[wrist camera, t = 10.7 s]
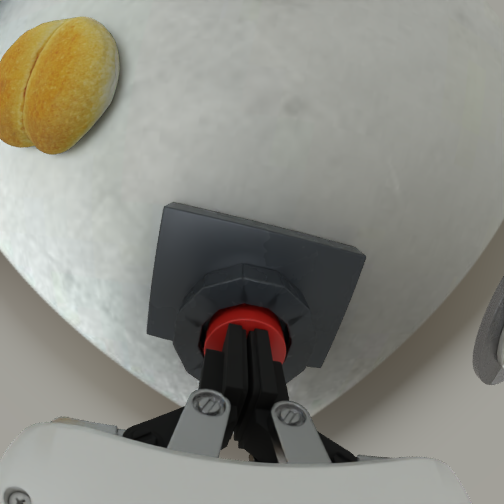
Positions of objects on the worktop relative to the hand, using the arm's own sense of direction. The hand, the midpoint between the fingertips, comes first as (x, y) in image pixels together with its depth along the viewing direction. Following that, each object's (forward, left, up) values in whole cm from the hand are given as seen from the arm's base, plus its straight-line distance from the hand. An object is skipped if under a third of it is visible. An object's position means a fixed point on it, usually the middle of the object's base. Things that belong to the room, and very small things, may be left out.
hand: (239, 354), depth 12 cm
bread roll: (+14, -11, -4) cm, 18 cm away
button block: (0, -2, -4) cm, 4 cm away
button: (0, 0, -2) cm, 2 cm away
